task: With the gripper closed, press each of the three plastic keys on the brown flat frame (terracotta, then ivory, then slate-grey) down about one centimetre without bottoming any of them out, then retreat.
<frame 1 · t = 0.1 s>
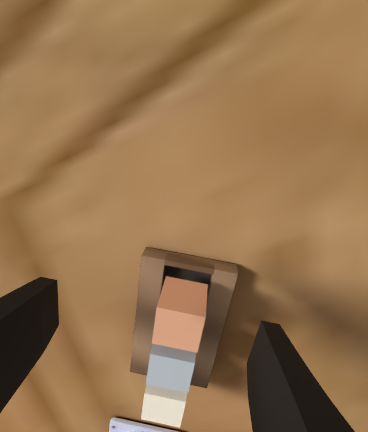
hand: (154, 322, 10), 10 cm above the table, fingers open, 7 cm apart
key ivory: (166, 389, 20), point 3 cm above the table, slide at 0.0 cm
key slate: (173, 354, 19), point 3 cm above the table, slide at 0.0 cm
key terracotta: (180, 312, 17), point 3 cm above the table, slide at 0.0 cm
brown flat frame: (179, 317, 22), on the table
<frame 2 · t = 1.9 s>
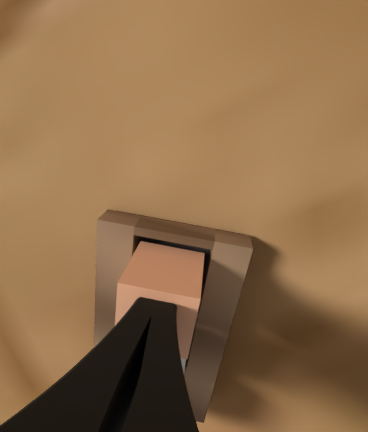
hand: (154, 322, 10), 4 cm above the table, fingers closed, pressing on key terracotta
key slate: (147, 379, 12), point 4 cm above the table, slide at 0.0 cm
key terracotta: (162, 295, 11), point 3 cm above the table, slide at 0.9 cm, touching gripper
brown flat frame: (163, 319, 15), on the table
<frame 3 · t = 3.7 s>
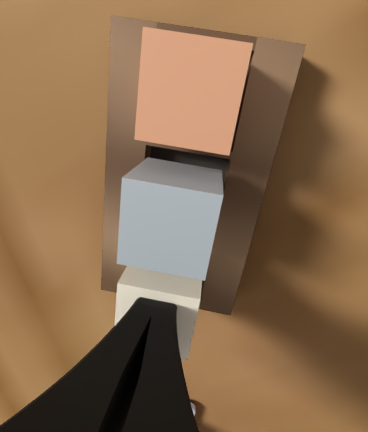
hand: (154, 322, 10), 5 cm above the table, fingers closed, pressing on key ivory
key ivory: (162, 295, 11), point 3 cm above the table, slide at 0.2 cm, touching gripper
key slate: (173, 213, 9), point 3 cm above the table, slide at 0.0 cm
key terracotta: (193, 96, 9), point 3 cm above the table, slide at 1.0 cm
brown flat frame: (185, 184, 13), on the table
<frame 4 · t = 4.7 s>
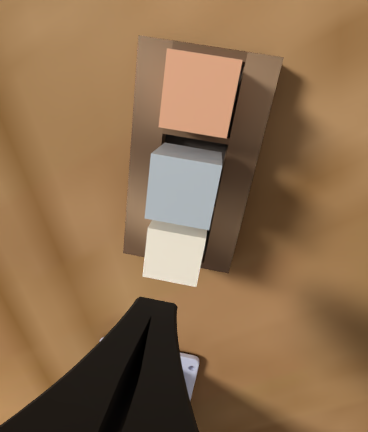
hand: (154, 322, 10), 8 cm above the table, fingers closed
key ivory: (177, 243, 15), point 3 cm above the table, slide at 0.9 cm
key slate: (185, 183, 13), point 3 cm above the table, slide at 0.0 cm
key terracotta: (200, 96, 12), point 3 cm above the table, slide at 1.0 cm
brown flat frame: (192, 166, 16), on the table
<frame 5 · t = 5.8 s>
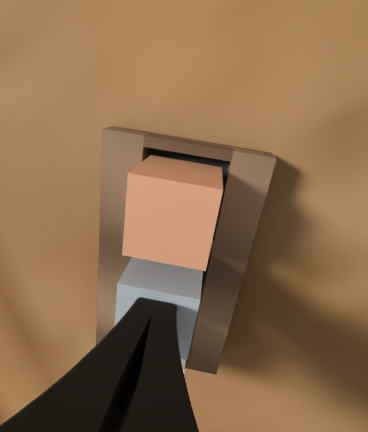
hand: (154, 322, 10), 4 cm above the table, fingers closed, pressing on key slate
key ivory: (154, 355, 13), point 3 cm above the table, slide at 0.9 cm
key slate: (162, 296, 11), point 3 cm above the table, slide at 0.6 cm, touching gripper
key terracotta: (175, 207, 10), point 3 cm above the table, slide at 1.0 cm
brown flat frame: (172, 258, 14), on the table
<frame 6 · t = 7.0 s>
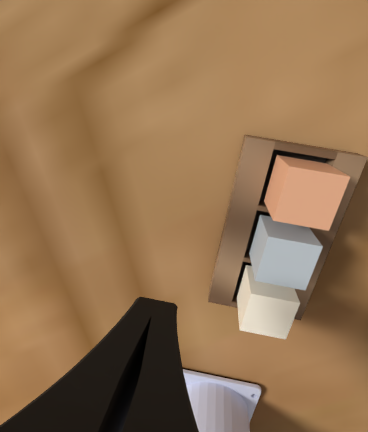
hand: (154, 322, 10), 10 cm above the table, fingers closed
key ivory: (264, 300, 18), point 3 cm above the table, slide at 0.9 cm
key slate: (281, 250, 16), point 3 cm above the table, slide at 0.9 cm
key terracotta: (301, 190, 15), point 3 cm above the table, slide at 1.0 cm
brown flat frame: (273, 231, 18), on the table
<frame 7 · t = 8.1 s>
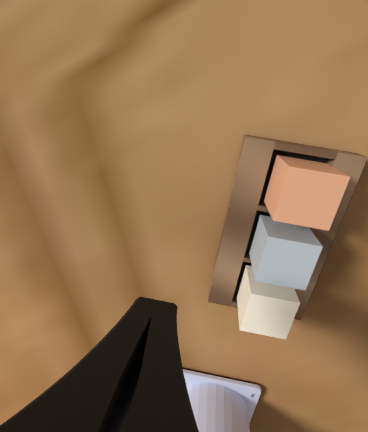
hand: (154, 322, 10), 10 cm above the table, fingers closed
key ivory: (264, 300, 18), point 3 cm above the table, slide at 0.9 cm
key slate: (281, 250, 16), point 3 cm above the table, slide at 0.9 cm
key terracotta: (301, 190, 15), point 3 cm above the table, slide at 1.0 cm
brown flat frame: (273, 231, 18), on the table
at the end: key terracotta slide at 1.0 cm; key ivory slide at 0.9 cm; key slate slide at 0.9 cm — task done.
